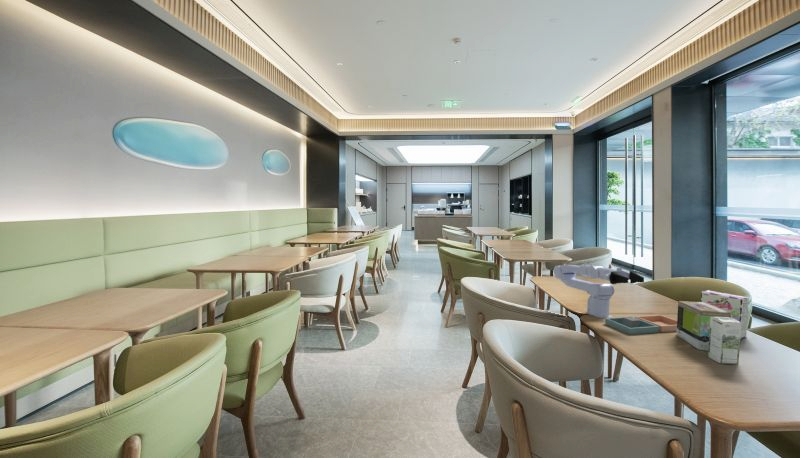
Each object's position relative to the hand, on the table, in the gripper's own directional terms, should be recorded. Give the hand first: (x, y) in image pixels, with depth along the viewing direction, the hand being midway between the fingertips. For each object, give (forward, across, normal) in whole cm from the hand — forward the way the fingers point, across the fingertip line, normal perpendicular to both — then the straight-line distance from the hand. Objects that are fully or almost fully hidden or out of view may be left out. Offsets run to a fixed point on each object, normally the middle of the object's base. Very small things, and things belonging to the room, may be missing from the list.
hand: (635, 280), depth 152 cm
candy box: (+10, +32, +22) cm, 40 cm away
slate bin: (-1, -1, +21) cm, 21 cm away
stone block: (-1, -1, +21) cm, 21 cm away
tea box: (+18, +12, +22) cm, 31 cm away
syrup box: (+32, +4, +22) cm, 39 cm away
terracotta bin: (-1, +14, +21) cm, 25 cm away
